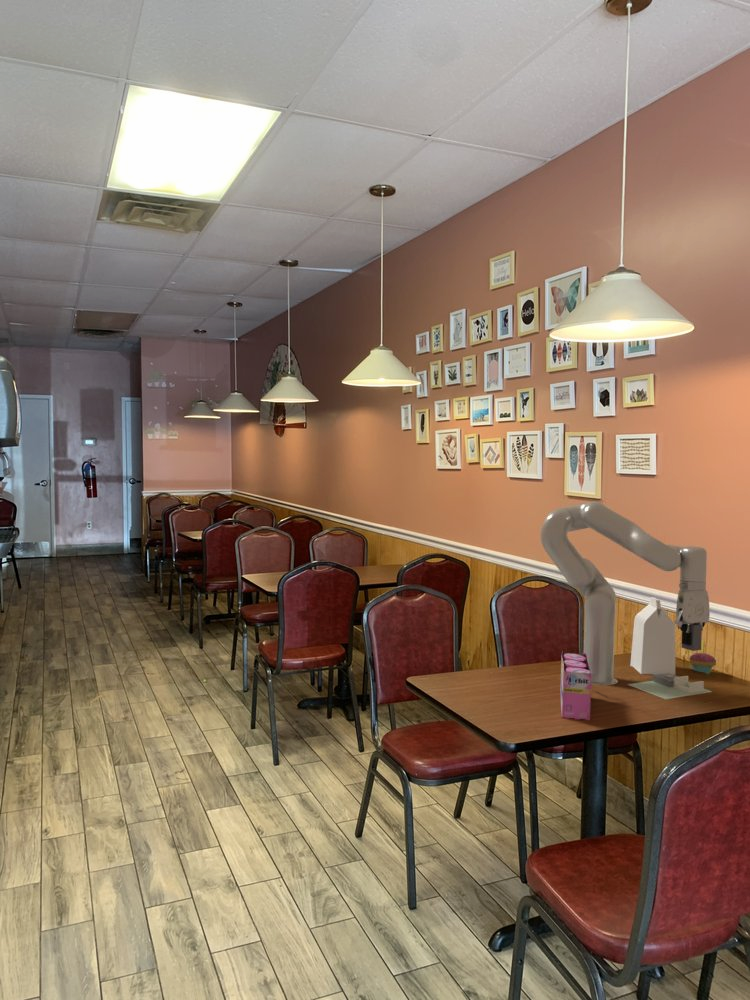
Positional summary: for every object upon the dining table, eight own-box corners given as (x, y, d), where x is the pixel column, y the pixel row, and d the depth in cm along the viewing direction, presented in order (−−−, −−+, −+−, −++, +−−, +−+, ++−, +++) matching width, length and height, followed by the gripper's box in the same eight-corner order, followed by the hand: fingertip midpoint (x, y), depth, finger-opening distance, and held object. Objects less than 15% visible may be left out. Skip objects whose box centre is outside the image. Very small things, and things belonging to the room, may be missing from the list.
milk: (630, 667, 263) (632, 595, 261) (663, 668, 262) (665, 595, 261) (640, 677, 251) (643, 601, 249) (675, 678, 250) (678, 602, 249)
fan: (669, 687, 236) (669, 680, 236) (652, 681, 243) (652, 674, 242) (685, 684, 239) (685, 677, 239) (668, 678, 245) (668, 672, 245)
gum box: (559, 692, 233) (560, 650, 232) (585, 695, 231) (587, 651, 230) (561, 718, 209) (563, 670, 209) (590, 721, 208) (592, 673, 207)
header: (690, 693, 231) (690, 683, 231) (673, 686, 237) (673, 677, 237) (703, 690, 233) (704, 681, 233) (686, 684, 239) (686, 675, 239)
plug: (693, 650, 231) (693, 625, 231) (680, 647, 236) (681, 622, 235) (701, 649, 233) (701, 624, 232) (688, 646, 237) (689, 621, 237)
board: (665, 703, 224) (665, 699, 224) (626, 688, 239) (627, 684, 239) (712, 695, 233) (712, 691, 233) (672, 681, 247) (672, 677, 247)
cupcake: (689, 668, 263) (690, 635, 262) (715, 672, 259) (717, 638, 258) (688, 675, 255) (689, 640, 254) (715, 678, 251) (716, 643, 251)
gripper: (682, 589, 226) (681, 649, 227) (721, 586, 233) (719, 644, 234) (663, 586, 233) (662, 643, 234) (701, 582, 240) (700, 638, 241)
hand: (691, 643), depth 234 cm, fingers closed on plug, 3 cm apart
